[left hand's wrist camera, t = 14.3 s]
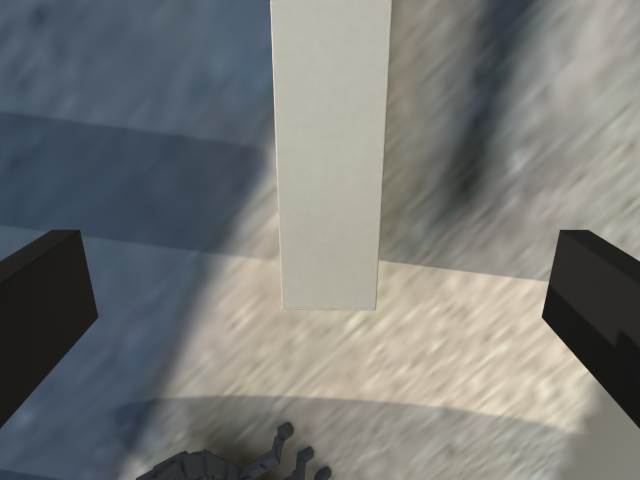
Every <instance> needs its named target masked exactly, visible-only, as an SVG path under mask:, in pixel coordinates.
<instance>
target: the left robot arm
mask: <svg viewBox="0 0 640 480" xmlns="http://www.w3.org/2000/svg"><path fill="white" fill-rule="evenodd" d="M97 318H98V314H97V309H96V304H95V299H94V295H93V290H92V285H91V280H90V276H89V271H88V266H87V261H86V257H85V252H84V247H83V242H82V238H81V233H80V230H51V231H49V232H48V233H46V234H44V235H43V236H41V237H39V238H38V239H36V240H34V241H33V242H31V243H30V244H28V245H26V246H25V247H23V248H21V249H20V250H18V251H17V252H15V253H13V254H12V255H10V256H8V257H7V258H5V259H3V260H2V261H0V428H1V427H2V426H3V425H4V424H5V423H6V422H7V420H8V419H9V418H10V417H11V416H12V415H13V414H14V412H15V411H16V410H17V409H18V408H19V407H20V406H21V405H22V403H23V402H24V401H25V400H26V399H27V398H28V397H29V395H30V394H31V393H32V392H33V391H34V390H35V389H36V387H37V386H38V385H39V384H40V383H41V382H42V381H43V380H44V378H45V377H46V376H47V375H48V374H49V373H50V372H51V370H52V369H53V368H54V367H55V366H56V365H57V364H58V363H59V361H60V360H61V359H62V358H63V357H64V356H65V355H66V353H67V352H68V351H69V350H70V349H71V348H72V347H73V345H74V344H75V343H76V342H77V341H78V340H79V339H80V338H81V336H82V335H83V334H84V333H85V332H86V331H87V330H88V328H89V327H90V326H91V325H92V324H93V323H94V322H95V321H96V319H97ZM542 318H543V319H544V321H545V322H546V323H547V324H548V325H549V326H550V327H551V328H552V330H553V331H554V332H555V333H556V334H557V335H558V336H559V338H560V339H561V340H562V341H563V342H564V343H565V344H566V345H567V347H568V348H569V349H570V350H571V351H572V352H573V353H574V355H575V356H576V357H577V358H578V359H579V360H580V361H581V363H582V364H583V365H584V366H585V367H586V368H587V369H588V370H589V372H590V373H591V374H592V375H593V376H594V377H595V378H596V380H597V381H598V382H599V383H600V384H601V385H602V386H603V387H604V389H605V390H606V391H607V392H608V393H609V394H610V395H611V397H612V398H613V399H614V400H615V401H616V402H617V403H618V404H619V406H620V407H621V408H622V409H623V410H624V411H625V412H626V414H627V415H628V416H629V417H630V418H631V419H632V420H633V422H634V423H635V424H636V425H637V426H638V427H639V428H640V261H638V260H637V259H635V258H633V257H632V256H630V255H628V254H627V253H625V252H623V251H622V250H620V249H619V248H617V247H615V246H614V245H612V244H610V243H609V242H607V241H606V240H604V239H602V238H601V237H599V236H597V235H596V234H594V233H592V232H591V231H589V230H560V233H559V238H558V242H557V247H556V252H555V257H554V261H553V266H552V271H551V276H550V280H549V285H548V290H547V295H546V299H545V304H544V309H543V314H542Z"/></svg>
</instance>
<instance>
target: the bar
mask: <svg viewBox="0 0 640 480" xmlns="http://www.w3.org/2000/svg"><path fill="white" fill-rule="evenodd" d="M270 2H271V29H272V55H273V82H274V109H275V136H276V162H277V189H278V216H279V242H280V269H281V296H282V309H296V310H376V297H377V279H378V260H379V241H380V223H381V204H382V185H383V167H384V148H385V129H386V111H387V92H388V74H389V55H390V36H391V18H392V0H270Z"/></svg>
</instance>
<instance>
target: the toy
mask: <svg viewBox="0 0 640 480" xmlns="http://www.w3.org/2000/svg"><path fill="white" fill-rule="evenodd" d="M293 430H294V429H293V427H292V426H291V425H290V424H289V423H286V424H284V425H282V426H280V427H278V435H277V436H276V437H275V438H274V443H273V447H272V450H271V451H270V452H268V453H266V454H265V455H263V456H262V457H261V458H260V459H258V460H256V461H255V462H253V463H251V464H249V465H247V466H245V467H244V468H243V469H241V468H239V467H237V466H236V465H234V464H232V463H230V462H229V461H228V460H226V459H225V458H223V459H221V458H220V457H219V456H218V455H217V454H216V455H215V456H214V455H213V454H212V453H211V452H210V451H207V450H203V451H201V452H198V451H197V452H193V453H191V454H189V453H187V452H186V451H184V452H180V453H178V454H177V455H175V456H173V457H171V458H169V459H167V460H165V461H163V462H161V463H159V464H157V465H156V466H154V467H153V470H151V471H149V472H147V473H145V474H143V475H141V476H140V477H138V478H136V480H259V479H258V478H257V477H258V476H260V475H262V474H263V473H265V472H267V471H269V470H270V469H272V468H273V467H275V466H277V465H278V464H280V456H281V450H282V447H283V444H284V441H285V440H286V439H287V438H289V437H290V436H291V435H292V434H293ZM313 456H314V451H313V450H312V449H311V448H310V447H309V448H307V449H305V450H303V451H301V452H299V453H297V462H296V470H294V471H293V475H292V476H290V477H287V478H286V479H284V480H304V478H305V463H306V462H307V461H309V460H310V459H311V458H312V457H313ZM330 477H331V470H330V469H329V468H328V467H326V468H325V469H323V470H321V471H319V472H317V474H316V475H315V478H314V480H328V479H329V478H330Z"/></svg>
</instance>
